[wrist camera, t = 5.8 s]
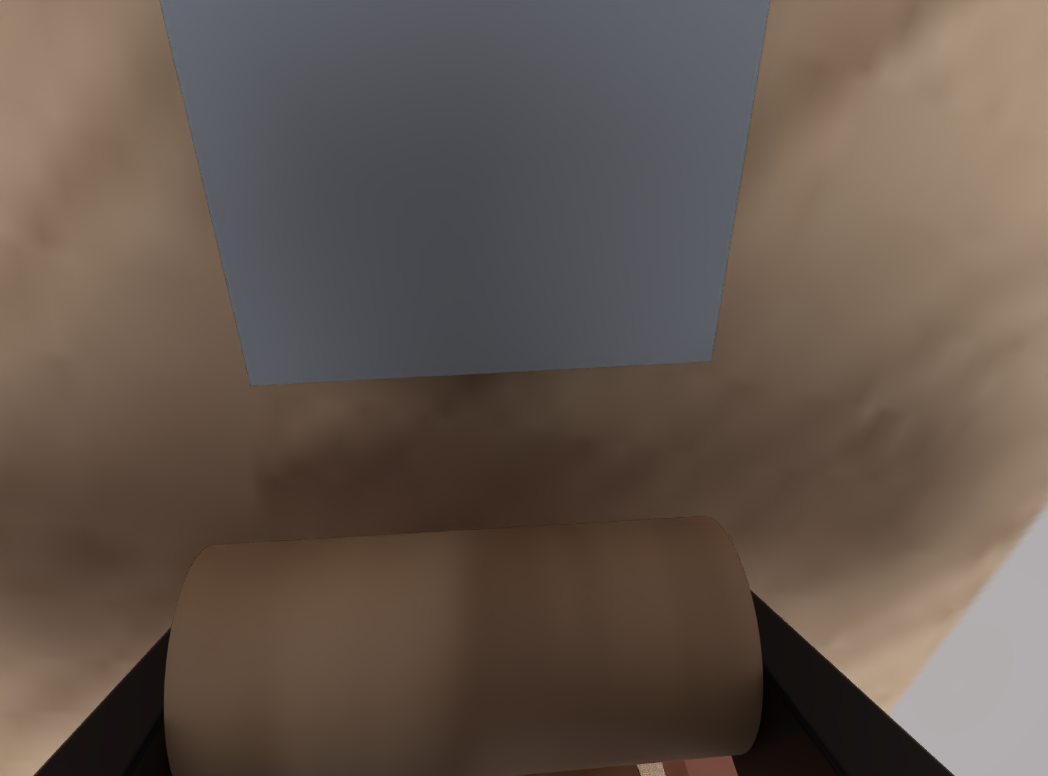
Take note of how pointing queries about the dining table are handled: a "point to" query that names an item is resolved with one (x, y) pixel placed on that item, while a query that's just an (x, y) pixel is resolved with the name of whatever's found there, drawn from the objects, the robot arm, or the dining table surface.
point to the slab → (469, 178)
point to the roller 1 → (464, 652)
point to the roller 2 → (595, 772)
